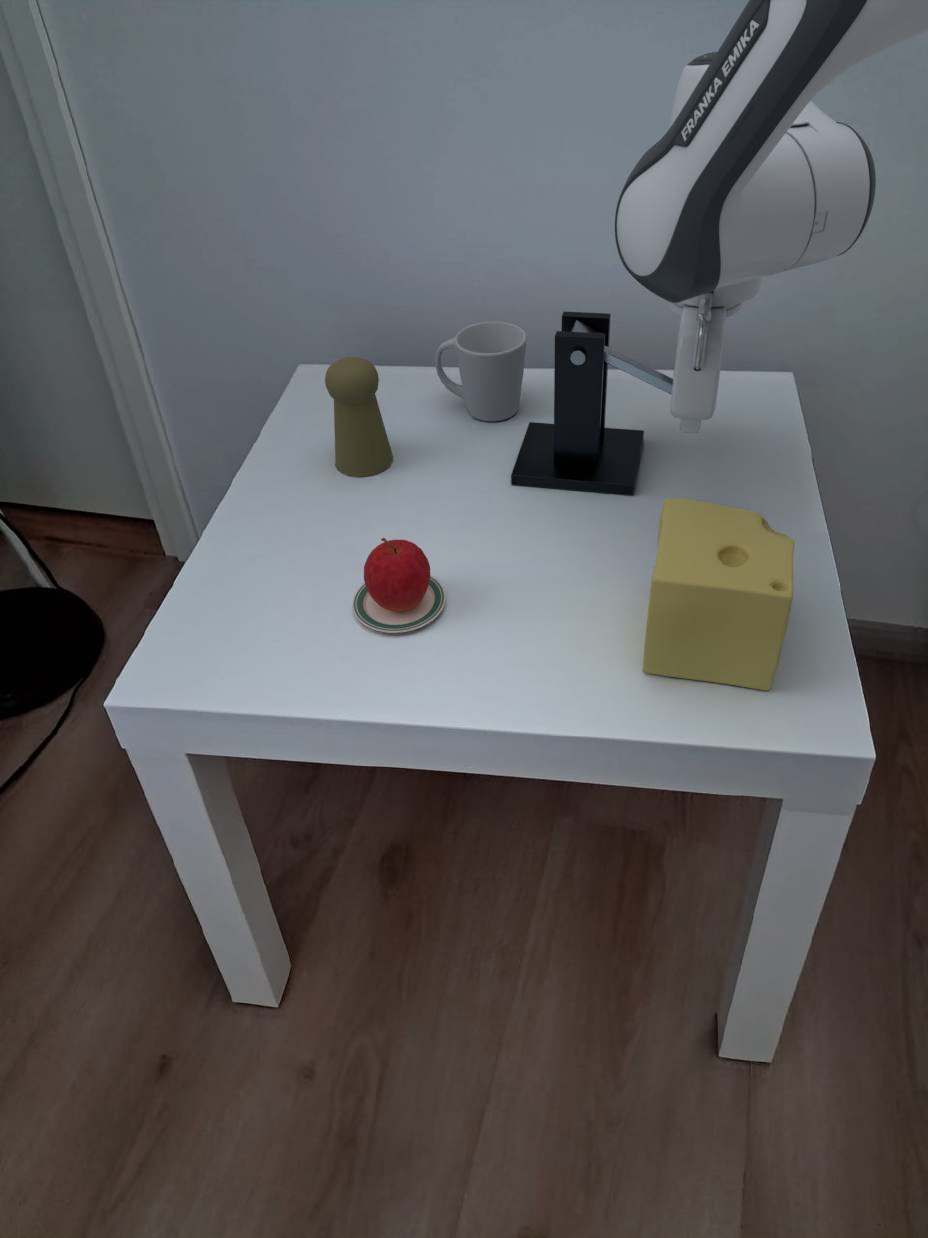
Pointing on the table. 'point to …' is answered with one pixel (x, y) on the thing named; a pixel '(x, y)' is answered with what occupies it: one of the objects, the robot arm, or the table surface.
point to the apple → (398, 589)
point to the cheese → (718, 595)
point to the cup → (487, 368)
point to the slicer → (580, 421)
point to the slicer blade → (630, 364)
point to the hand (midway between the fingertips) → (691, 410)
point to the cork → (357, 418)
